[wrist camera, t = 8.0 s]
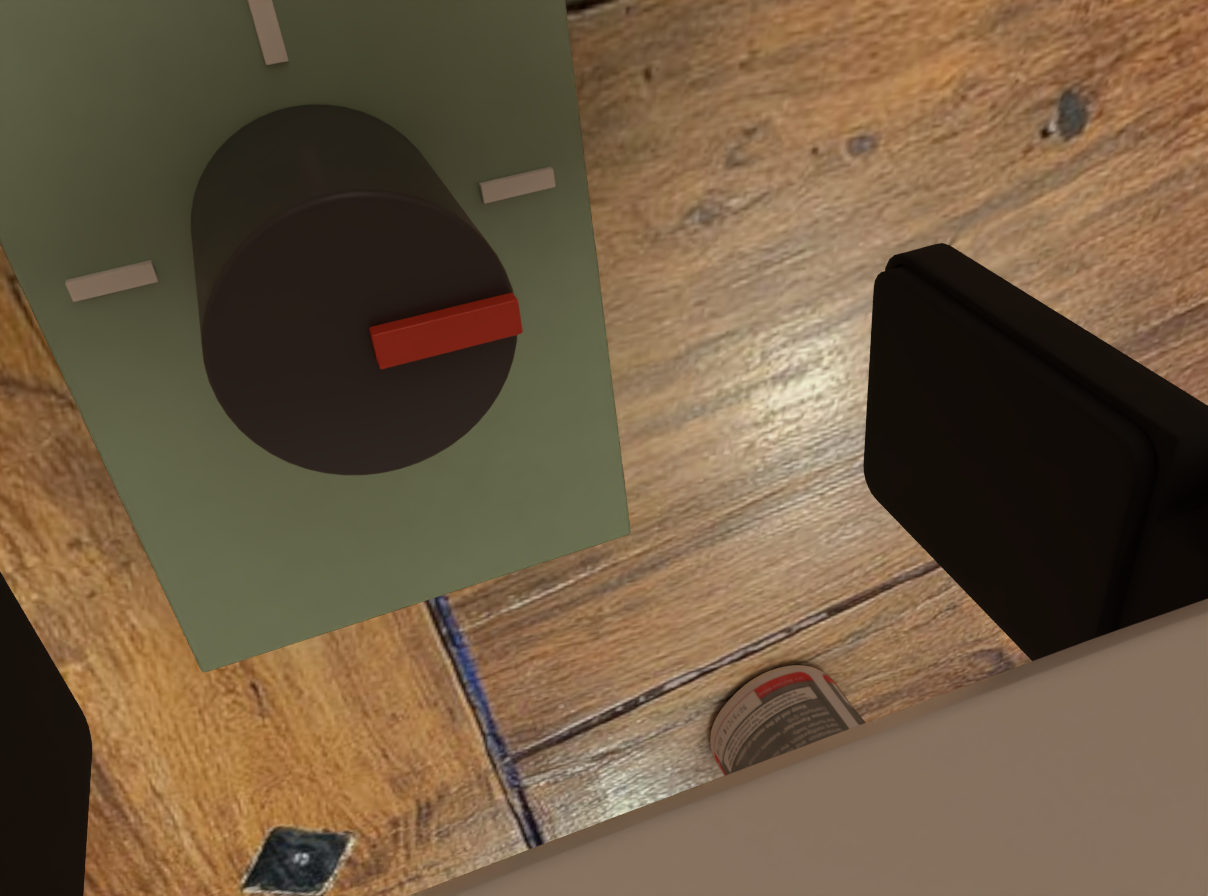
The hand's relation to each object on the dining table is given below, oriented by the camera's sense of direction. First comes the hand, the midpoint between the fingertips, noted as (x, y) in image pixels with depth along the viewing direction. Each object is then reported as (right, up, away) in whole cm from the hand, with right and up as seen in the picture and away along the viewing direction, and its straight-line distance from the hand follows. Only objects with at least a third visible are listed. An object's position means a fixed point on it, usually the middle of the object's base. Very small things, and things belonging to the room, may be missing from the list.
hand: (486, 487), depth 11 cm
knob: (-4, +4, +8) cm, 10 cm away
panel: (-5, +4, +11) cm, 13 cm away
